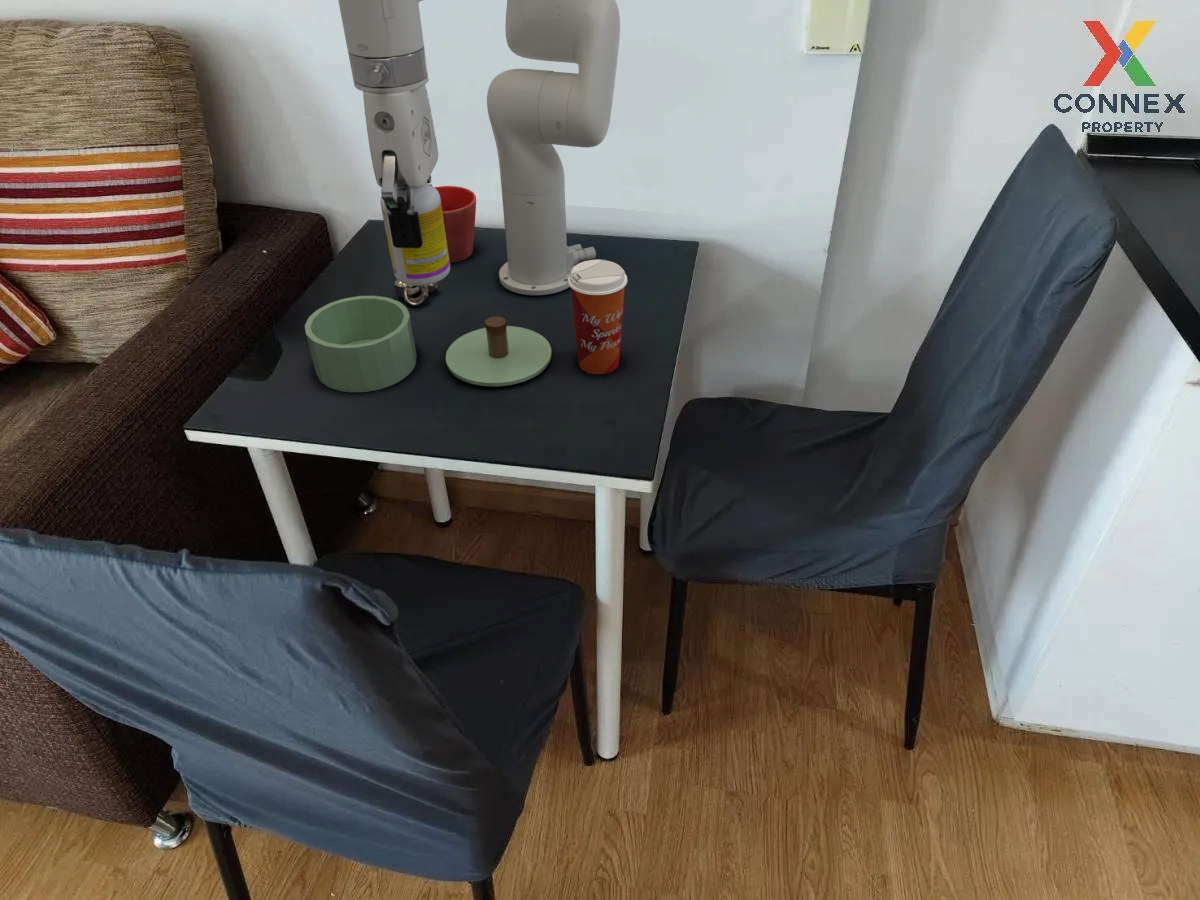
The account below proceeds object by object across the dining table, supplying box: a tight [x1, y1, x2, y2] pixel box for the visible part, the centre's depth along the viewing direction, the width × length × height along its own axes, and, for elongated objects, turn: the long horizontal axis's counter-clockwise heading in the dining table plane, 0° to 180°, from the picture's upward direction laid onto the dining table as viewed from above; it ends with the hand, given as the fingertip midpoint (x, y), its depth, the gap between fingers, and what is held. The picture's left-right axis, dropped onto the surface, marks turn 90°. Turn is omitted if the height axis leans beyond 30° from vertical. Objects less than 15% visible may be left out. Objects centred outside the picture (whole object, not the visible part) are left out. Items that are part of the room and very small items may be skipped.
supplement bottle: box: [379, 179, 451, 286], centre depth 98 cm, size 7×7×13 cm
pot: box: [304, 295, 417, 393], centre depth 117 cm, size 14×14×7 cm
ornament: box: [394, 278, 441, 307], centre depth 133 cm, size 8×7×4 cm
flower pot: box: [433, 185, 477, 264], centre depth 143 cm, size 11×11×10 cm
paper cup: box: [568, 259, 628, 375], centre depth 115 cm, size 8×8×14 cm
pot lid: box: [445, 315, 552, 387], centre depth 118 cm, size 15×15×6 cm
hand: (415, 230), depth 98 cm, fingers closed on supplement bottle, 6 cm apart
